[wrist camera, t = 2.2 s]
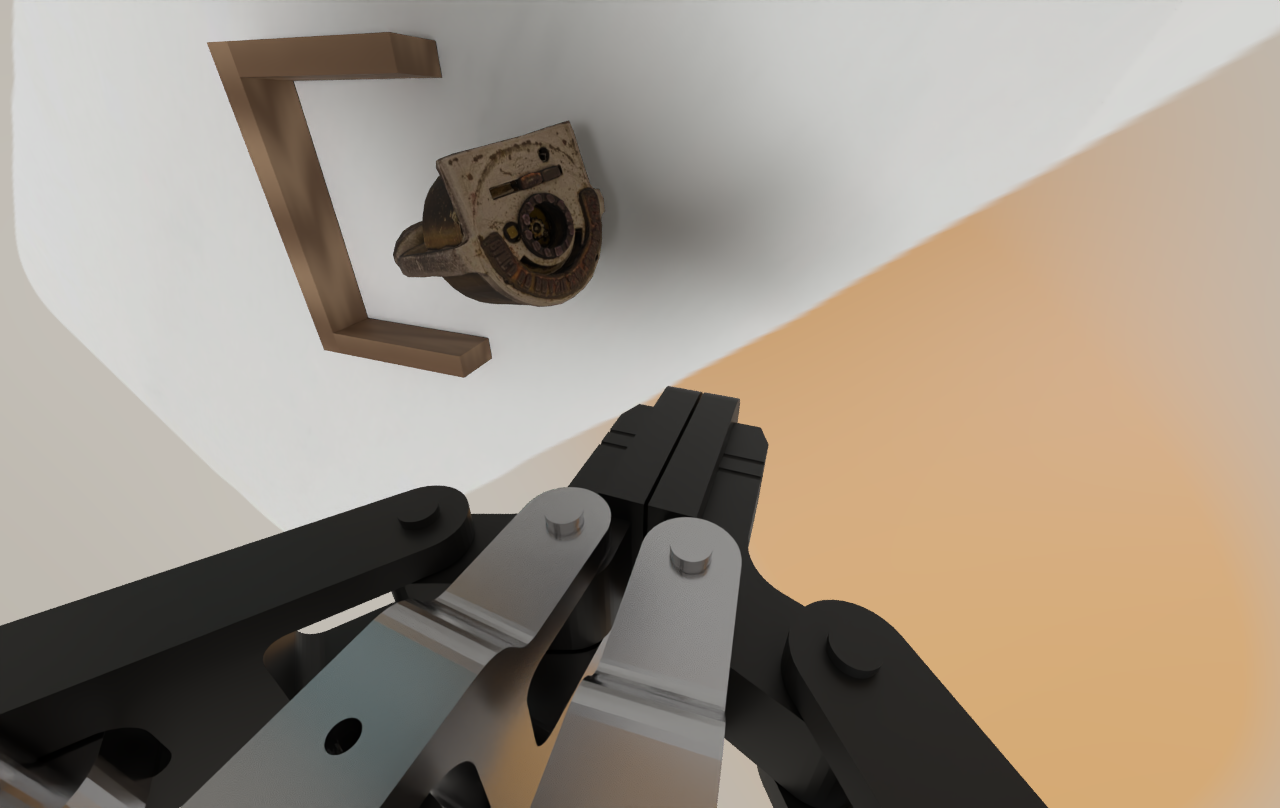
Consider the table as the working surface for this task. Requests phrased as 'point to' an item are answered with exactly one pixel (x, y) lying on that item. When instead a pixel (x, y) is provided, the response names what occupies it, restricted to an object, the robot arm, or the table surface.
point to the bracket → (300, 193)
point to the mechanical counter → (510, 222)
